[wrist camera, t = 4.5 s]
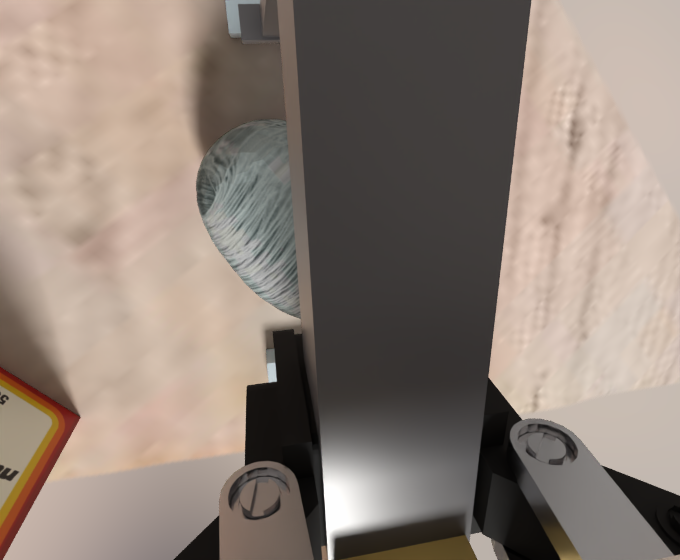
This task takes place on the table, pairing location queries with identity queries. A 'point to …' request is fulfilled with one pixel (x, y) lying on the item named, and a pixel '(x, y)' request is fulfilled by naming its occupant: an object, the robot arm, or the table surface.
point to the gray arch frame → (398, 249)
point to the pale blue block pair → (235, 32)
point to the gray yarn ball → (253, 209)
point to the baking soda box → (26, 449)
